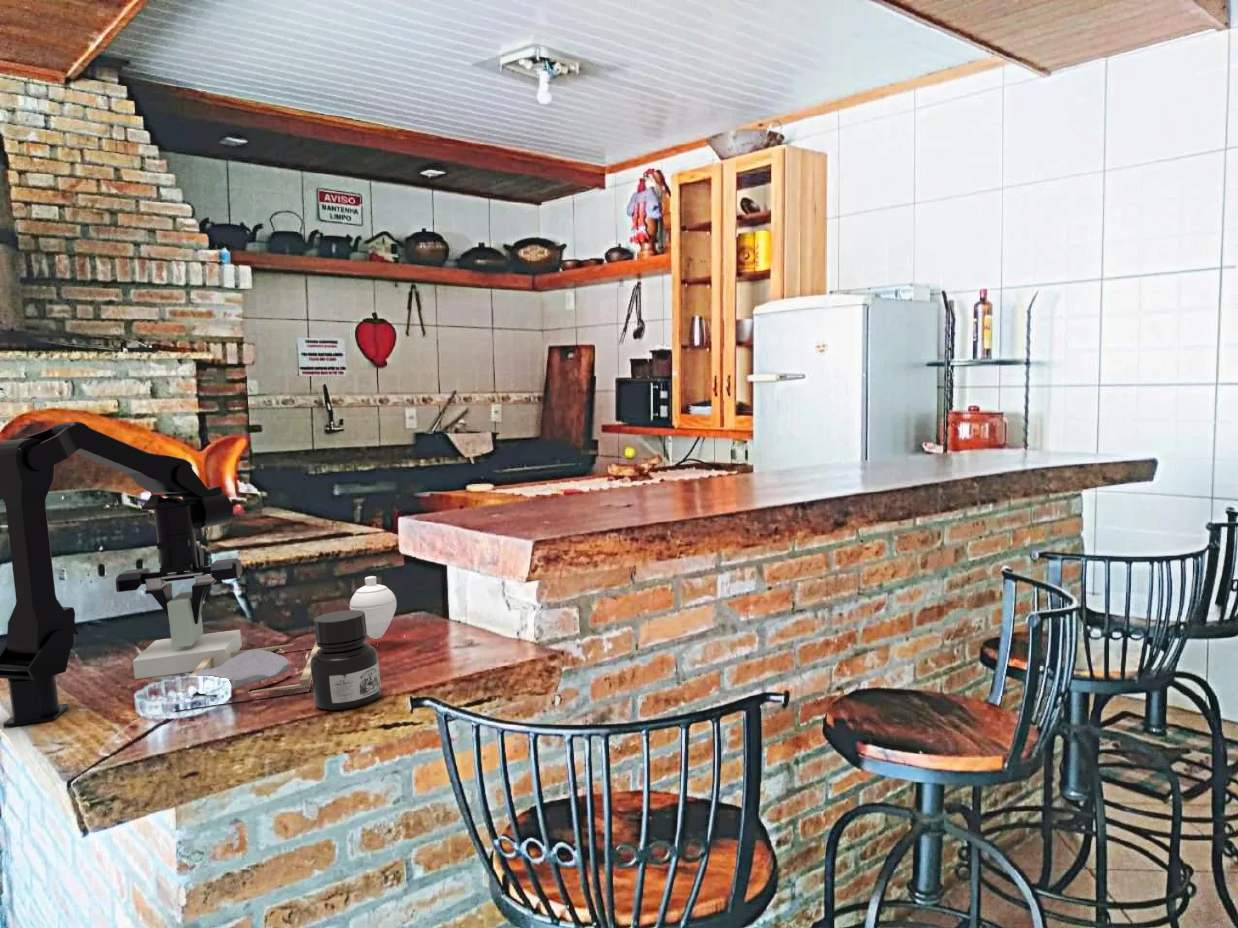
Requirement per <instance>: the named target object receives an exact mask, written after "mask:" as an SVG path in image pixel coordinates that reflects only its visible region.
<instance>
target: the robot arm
mask: <svg viewBox="0 0 1238 928" xmlns="http://www.w3.org/2000/svg"><path fill="white" fill-rule="evenodd" d="M73 454H74V455H78V456H80V457H82V458H84V459H85V458H86V459H88V460H89V461H92V462H95V463H97V464H100V465H103V466H105V467H108V468H110V469H113V470H116V471H118V472H121V473H123V474H126V476H129V477H131V479H132V480H133V481H134V482H135V483H136V484H137V485H138V486H140V487H141V488H143V489H145V490H146V491H148V493H149V492H150V493H151V494H152V495H150V496H149V498H148V500H147V501H145V502H144V504H143V505H141V508H140V509H141V510H142V511H153V512H154V513H153V515H154V522H155V529H156V530H155V531H156V538H157V539H156V540H157V541H156V542H157V543H156V550H158V553H157V554H158V563H159V564H160V567H159V571H150V570H149V569H150V568H149V567H145V568H135V569H127V570H125V571H122V572H121V573H120V574H118V575H117V576H116V578H115V589H116V592H117V593H122V592H124V593H125V592H129V591H130V592H132V591H138V589H139V588H140V587H141V586H142V585H145V586H146V587H145V590H144V593H145V595H151V596H153V598H154V600H155V601H156V602H157V603H158V604H159V606H160V607H161V608H162V610H163V612H164V614H165V615H166V616H167V618H168V619H169V616H168V607H167V603H168V602H169V601H170V600H172V599H173V598H174V596H173V584H172V582H174V581H183V580H191V579H193V580H194V581H195V583H194V584H193V585H191V592H192V599H193V616H194V621H195V624H198V623H199V619H200V615H201V616H202V611H203V606H204V601H205V598H206V595H207V592H208V590H209V587H212V586H213V585H215V584H216V583H217V582H218V581H227V580H234V579H238V578H239V577H241V575H242V574H243V566H242V561H241V560H240V559H239V558H238V557H234V558H227V559H225V558H224V559H218V560H215V561H213V562H212V563H211V564H210V565H206V566H205V559H204V557H205V556H204V555H205V553H204V549H203V548H202V547H201V546H199V544H198V542H197V538H196V535H195V529H196V530H200V529H206V528H210V527H215V526H219V525H225V524H228V522H230V521H231V520H232V517H233V515H234V514H233V513H234V504H233V503H232V502H231V499H230V498H229V497H228V495H226V494H225V493H224V492H223V488H222V486H221V485H220V486H210V487H207V486H206V485H205V483H204V482H203V480H201V478H200V477H199V476H198V474H197V473H196V472H195V471H194V469H193V465H192V463H191V462H190V461H189V460H187V459H186V458H185V459H184V458H181V457H176V456H171V455H166V454H160V453H159V454H157V453H151V452H147V451H145V450H142V449H140V448H138V447H135V446H133V445H131V444H128V443H126V442H124V441H122V440H120V439H117V438H115V437H112V436H110V435H107V434H105V433H104V432H100V431H98V430H96V429H94V428H91V427H89V425H87V424H85V423H83V422H80V421H72V422H61V423H57V424H55V425H54V426H51V427H50V428H47V429H45V430H43V431H38V432H37V433H33V434H30V435H29V436H25V437H22V438H19V439H11V440H10V439H8V440H3V441H1V440H0V499H2V502H4V505H5V513H6V522H7V529H8V540H9V548H10V549H9V550H10V558H11V566H12V567H11V568H12V574H13V583H14V592H15V593H14V594H15V605H14V608H13V610H12V612H11V615H10V616H9V619H8V622H7V630H6V631H7V632H6V644H5V645H3V648H2V649H1V650H0V680H1V679H5V680H6V679H7V683H8V690H9V691H8V692H9V698H10V706H11V713H12V716H11V717H10V718H8V719H7V720H6V721H4V723H2V725H3V726H2V727H3V728H7V727H15V726H16V727H17V726H21V725H28V724H35V723H44V722H49V721H51V722H52V721H54V720H56V719H57V718H58V717H60V715H61V714H62V713H63V712H65V711H66V710H67V709H68V708H69V706H70V705H69V703H63V704H62V703H61V704H60V703H59V702H60V701H59V693H58V686H57V678H56V676H57V675H59V674H63V673H65V672H67V669H68V665H69V664H68V663H69V659H70V652H71V650H73V648H74V646H75V636H78V635H79V632H78V629H77V628H76V611H75V608H74V607H73V606H72V607H71V606H62V604H61V603H60V601H59V600H58V598H57V596H56V586H55V579H54V577H55V576H54V569H53V559H52V548H51V541H50V539H51V538H50V532H49V521H48V514H47V505H46V501H47V500H46V499H47V497H48V495H49V493H50V490H51V487H52V486H53V482H54V480H55V465H57V464H59V463H61V462H63V461H65V460H67V459H69V458H70V457H71V456H72V455H73ZM153 494H154V495H153ZM162 495H163V496H164V497H163V496H162ZM168 582H169V583H168Z"/></svg>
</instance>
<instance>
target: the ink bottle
mask: <svg viewBox="0 0 1238 928" xmlns="http://www.w3.org/2000/svg"><path fill="white" fill-rule="evenodd" d="M313 622H314V623H313V624H314V633H315V641H316V642H317V643H316V644H317V646H318V647H320V649H318V650H317V652H316V654H315V655H314V656H313V657H312V658H311V661H310V666H311V675H312V684H313V686H312V691H313V699H314V700H313V701H314V702H313V703H314V704H315V706H316V707H317V708H318V707H319V709H321V708H323V709H322V710H326V709H329V710H330V711H343V710H344V711H345V710H350V709H355V708H358V707H363V706H364V705H367V704H370V703H372V702H374V701H376V700H378V698H380V697H381V695H382V686H381V675H380V667H379V658H378V657H379V656H378V651H377V649H375V647H374V646H373V645H370V644H369V642H367V640H368V635H367V629H366V620H365V613H364V611H360V610H350V609H349V610H340V611H333V612H329V613H324V614H322V615H318V616H317V617H315V618H314V619H313Z"/></svg>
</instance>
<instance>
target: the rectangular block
mask: <svg viewBox="0 0 1238 928" xmlns="http://www.w3.org/2000/svg"><path fill="white" fill-rule="evenodd" d="M167 607H168V616H169V618H168V622H169V623H168V624H169V632H170V638H171V641H172V648H176V647H184V646H192V645H193V644H194V643H195V642H196V641H197V639H198V638H199V637H200V636H201V635H202V634H204V627H203V626H204V625H203V617H202V614H201V615H200V619H199V623H198V624H195V621H194V616H193V599H192V591H185V592H179V593H178V594H177V595H175V596H173V599H172V600H170V601H169V602H168V603H167ZM168 616H167V617H168Z"/></svg>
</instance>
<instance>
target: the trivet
mask: <svg viewBox="0 0 1238 928" xmlns="http://www.w3.org/2000/svg"><path fill="white" fill-rule="evenodd" d="M242 646H243V642H242V635H241V629H235V630H234V629H233V630H227V631H217V632H210V633H203V634H202V635H201V636H200V637H199V638H198V639H197V641H196V642H195V643H194V644H193V645H192V646H184V647H176V648H172V641H171V637H170V638H164V639H163V638H162V639H155V640H154V641H153V642H152V643H151V644H150V645H148V647H146V648H145V649H144V650H143V651H142V652H141V653H140V654H139V655H138V656H137V657H135V658H134V659H133V660H132V667H133V675H134V680H140V679H146V678H147V679H149V678H154V677H163V676H168V675H169V676H170V675H178V674H185V673H191V672H192V673H193V672H194V670H195V669H196V668H197V667H198V666H199V664H200V663H201V662H202V661H203V660H204V658H207V657H213V662H214V668H216V667H220V666H221V665H223V664H224V663H225V662H226V661H228V660H229V659H231V658H232V656H231V653H232V652H236V651H241V650H240V649H241V648H242Z"/></svg>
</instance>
